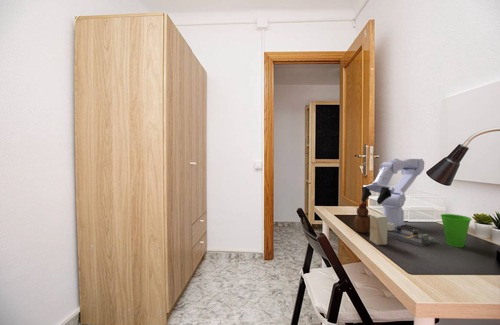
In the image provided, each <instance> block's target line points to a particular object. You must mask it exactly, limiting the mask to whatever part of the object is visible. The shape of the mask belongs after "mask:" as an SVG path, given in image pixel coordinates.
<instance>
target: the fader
mask: <svg viewBox="0 0 500 325" xmlns="http://www.w3.org/2000/svg"><path fill="white" fill-rule="evenodd" d="M395 228H396V227H395V224H393V223H387V230H389V231H392V230H395Z"/></svg>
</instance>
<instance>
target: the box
mask: <svg viewBox="0 0 500 325" xmlns="http://www.w3.org/2000/svg"><path fill="white" fill-rule="evenodd" d="M369 217H370V230H369V241H370V242H372V243H373V244H375V245H378V246H380V245H388V236H387V222H388V217H386V216H384V215H383V214H380V213H371V214H370V215H369Z"/></svg>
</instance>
